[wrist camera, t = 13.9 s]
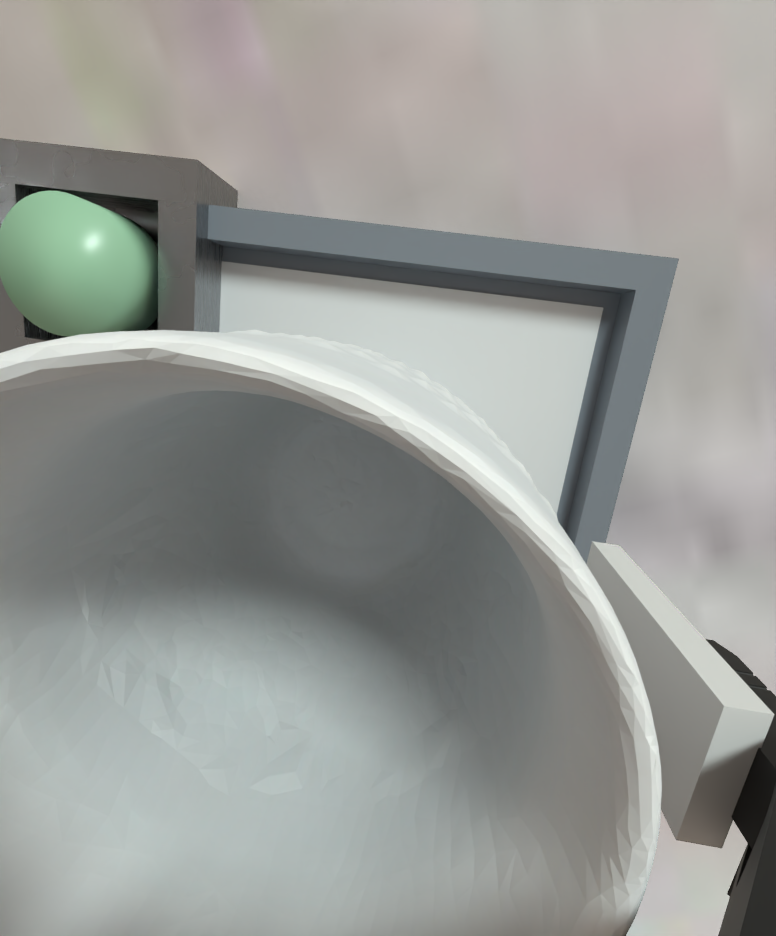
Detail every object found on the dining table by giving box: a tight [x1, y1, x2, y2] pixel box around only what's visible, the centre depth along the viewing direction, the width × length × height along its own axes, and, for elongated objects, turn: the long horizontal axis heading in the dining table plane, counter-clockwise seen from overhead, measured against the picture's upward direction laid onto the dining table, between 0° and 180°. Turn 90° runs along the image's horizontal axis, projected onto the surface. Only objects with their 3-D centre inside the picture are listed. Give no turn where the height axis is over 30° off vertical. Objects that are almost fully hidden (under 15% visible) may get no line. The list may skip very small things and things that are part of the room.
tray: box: [208, 205, 679, 564], centre depth 18 cm, size 16×19×2 cm
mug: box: [0, 329, 662, 936], centre depth 12 cm, size 15×11×13 cm
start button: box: [0, 191, 158, 337], centre depth 15 cm, size 4×4×2 cm
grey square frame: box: [0, 138, 237, 353], centre depth 17 cm, size 7×7×3 cm
